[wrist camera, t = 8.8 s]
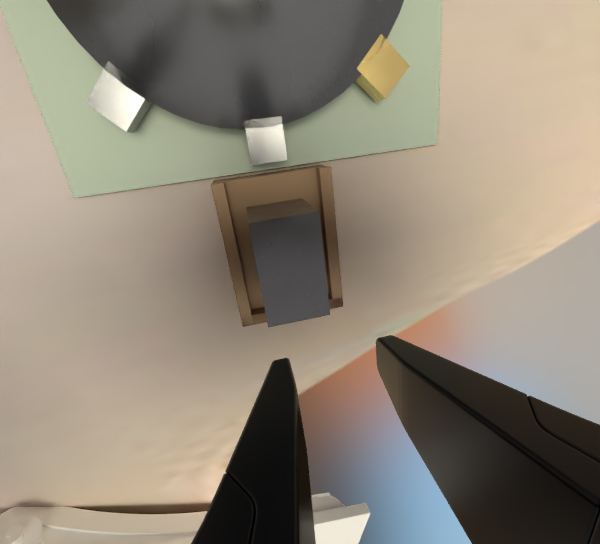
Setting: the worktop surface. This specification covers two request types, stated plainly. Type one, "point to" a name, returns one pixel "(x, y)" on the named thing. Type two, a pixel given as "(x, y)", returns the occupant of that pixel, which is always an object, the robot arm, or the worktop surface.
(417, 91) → the mount plate
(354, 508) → the white wedge
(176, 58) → the sprocket
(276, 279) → the link block
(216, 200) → the brown rectangular tray
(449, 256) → the worktop surface
